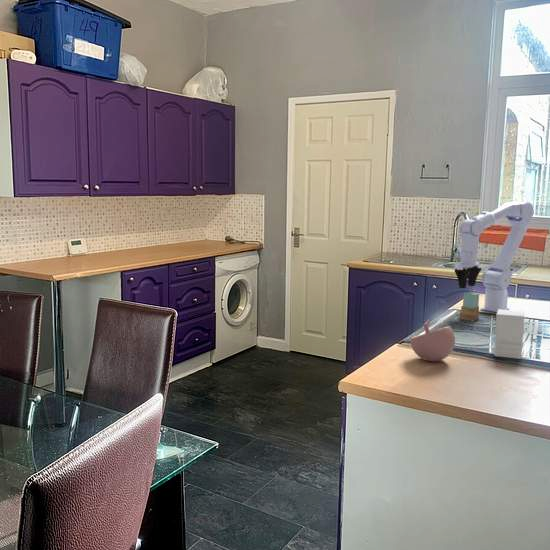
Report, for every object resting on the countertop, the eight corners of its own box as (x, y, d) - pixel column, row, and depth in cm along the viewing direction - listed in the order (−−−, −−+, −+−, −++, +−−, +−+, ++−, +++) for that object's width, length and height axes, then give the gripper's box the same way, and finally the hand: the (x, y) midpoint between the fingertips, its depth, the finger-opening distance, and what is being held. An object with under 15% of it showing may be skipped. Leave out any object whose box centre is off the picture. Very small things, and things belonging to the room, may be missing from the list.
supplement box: (521, 352, 166) (525, 310, 164) (521, 359, 159) (524, 316, 157) (495, 349, 169) (498, 308, 167) (493, 356, 162) (496, 313, 160)
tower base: (466, 317, 211) (466, 311, 211) (478, 320, 207) (479, 313, 207) (459, 319, 208) (460, 313, 207) (472, 322, 204) (472, 315, 204)
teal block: (468, 305, 209) (468, 291, 209) (478, 306, 207) (479, 293, 206) (462, 306, 207) (463, 293, 206) (473, 308, 204) (473, 294, 203)
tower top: (465, 311, 211) (465, 304, 210) (478, 312, 208) (479, 306, 207) (460, 313, 207) (461, 306, 206) (474, 315, 204) (475, 308, 203)
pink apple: (423, 351, 166) (425, 313, 165) (461, 360, 158) (463, 320, 156) (401, 360, 158) (402, 320, 156) (439, 370, 150) (442, 328, 148)
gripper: (470, 253, 205) (468, 290, 207) (487, 251, 215) (485, 286, 217) (452, 252, 210) (450, 288, 212) (470, 249, 220) (467, 283, 222)
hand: (466, 286), depth 215 cm, fingers open, 7 cm apart
